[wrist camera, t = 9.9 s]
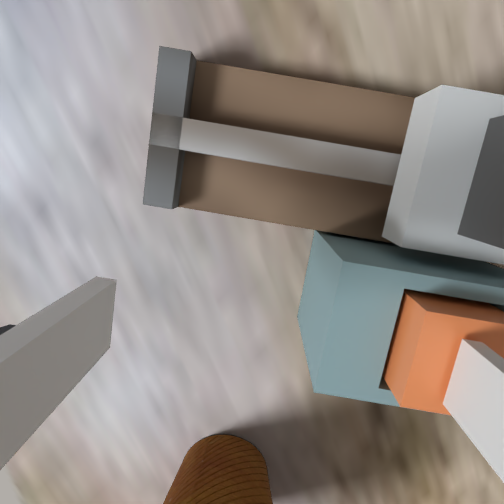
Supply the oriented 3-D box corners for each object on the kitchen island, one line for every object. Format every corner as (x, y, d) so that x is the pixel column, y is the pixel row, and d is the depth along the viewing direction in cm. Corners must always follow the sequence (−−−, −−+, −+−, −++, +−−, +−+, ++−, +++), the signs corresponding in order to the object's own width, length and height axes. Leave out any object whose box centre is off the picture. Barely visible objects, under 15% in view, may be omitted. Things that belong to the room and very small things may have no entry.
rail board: (175, 65, 23) (159, 45, 19) (542, 127, 23) (593, 119, 19) (160, 199, 24) (142, 204, 21) (502, 257, 24) (541, 272, 21)
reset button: (374, 266, 21) (426, 311, 14) (446, 278, 21) (533, 329, 14) (357, 333, 22) (400, 406, 15) (427, 345, 22) (501, 423, 15)
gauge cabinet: (315, 229, 24) (343, 261, 16) (479, 257, 24) (599, 304, 16) (296, 321, 26) (312, 398, 17) (452, 347, 26) (550, 438, 17)
